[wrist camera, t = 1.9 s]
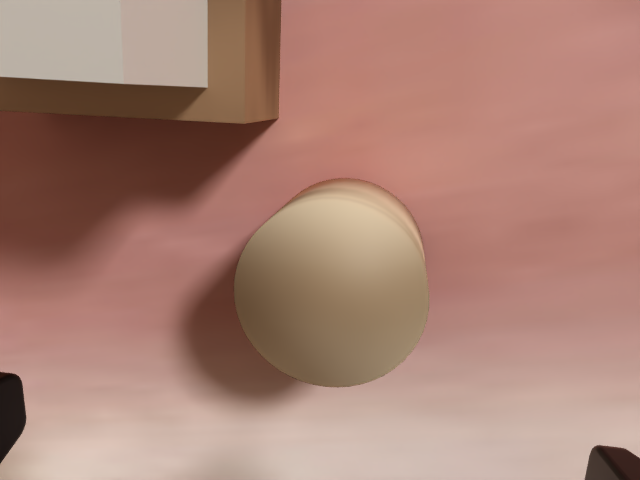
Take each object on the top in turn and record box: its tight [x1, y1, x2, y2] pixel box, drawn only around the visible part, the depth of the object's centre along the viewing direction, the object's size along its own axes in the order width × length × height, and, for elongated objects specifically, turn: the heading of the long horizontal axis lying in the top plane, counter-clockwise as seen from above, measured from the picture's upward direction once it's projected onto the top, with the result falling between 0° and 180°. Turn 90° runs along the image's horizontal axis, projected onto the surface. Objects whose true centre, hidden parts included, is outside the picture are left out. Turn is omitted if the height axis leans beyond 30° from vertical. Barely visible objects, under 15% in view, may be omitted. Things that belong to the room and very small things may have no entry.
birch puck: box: [234, 178, 429, 387], centre depth 15 cm, size 5×5×4 cm
